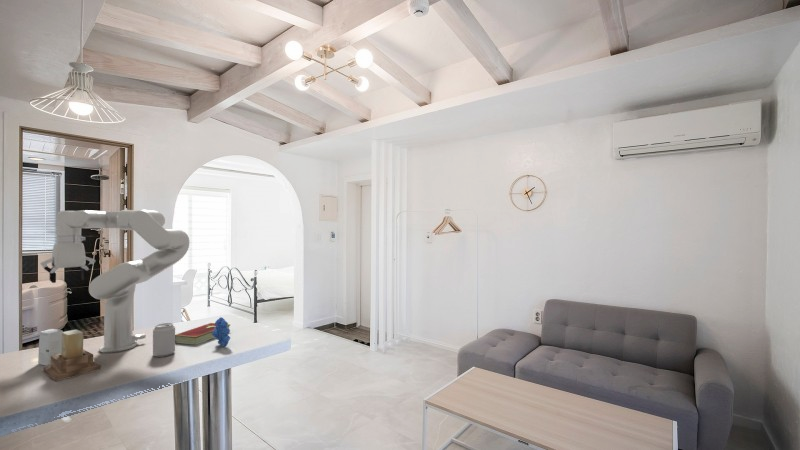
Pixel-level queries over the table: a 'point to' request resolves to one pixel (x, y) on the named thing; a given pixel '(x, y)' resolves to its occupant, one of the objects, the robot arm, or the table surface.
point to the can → (163, 339)
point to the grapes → (221, 332)
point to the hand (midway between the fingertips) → (69, 281)
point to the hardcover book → (196, 334)
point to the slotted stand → (70, 366)
